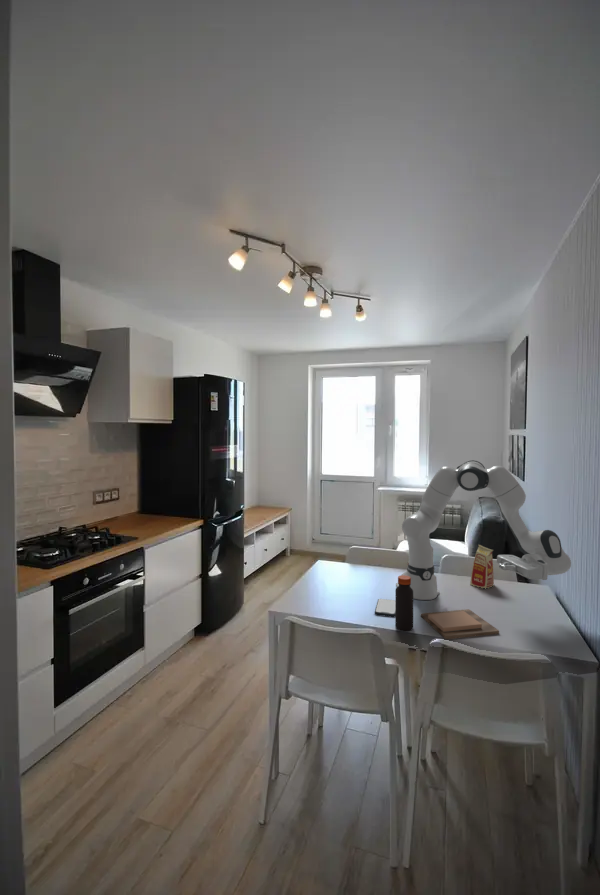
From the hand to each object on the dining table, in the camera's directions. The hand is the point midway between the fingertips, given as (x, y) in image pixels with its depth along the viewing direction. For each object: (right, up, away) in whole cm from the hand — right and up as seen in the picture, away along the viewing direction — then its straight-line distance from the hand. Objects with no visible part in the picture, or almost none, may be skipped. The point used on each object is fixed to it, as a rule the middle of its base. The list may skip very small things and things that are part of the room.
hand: (501, 567), depth 171 cm
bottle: (-40, -23, -4) cm, 46 cm away
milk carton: (+11, -21, +41) cm, 48 cm away
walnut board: (-18, -22, -2) cm, 29 cm away
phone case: (-43, -23, +14) cm, 51 cm away
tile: (-12, -21, -2) cm, 24 cm away
